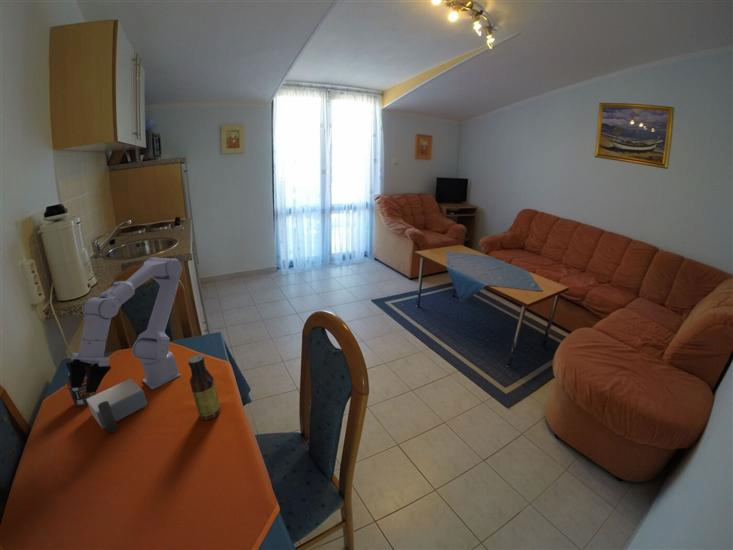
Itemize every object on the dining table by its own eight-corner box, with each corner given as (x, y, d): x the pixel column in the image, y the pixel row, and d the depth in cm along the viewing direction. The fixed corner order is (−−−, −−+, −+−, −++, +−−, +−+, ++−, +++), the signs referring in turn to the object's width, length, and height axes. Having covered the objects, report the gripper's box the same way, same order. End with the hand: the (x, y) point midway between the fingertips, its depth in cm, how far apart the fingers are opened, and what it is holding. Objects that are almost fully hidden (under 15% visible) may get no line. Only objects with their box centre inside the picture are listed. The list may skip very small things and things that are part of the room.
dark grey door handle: (147, 403, 107) (139, 379, 104) (153, 410, 104) (146, 385, 101) (102, 427, 98) (92, 401, 95) (108, 435, 95) (98, 409, 92)
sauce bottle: (225, 409, 105) (214, 355, 98) (209, 423, 100) (195, 367, 92) (210, 403, 107) (198, 350, 100) (193, 417, 102) (179, 362, 95)
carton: (135, 393, 113) (130, 378, 111) (146, 404, 108) (142, 389, 105) (92, 414, 104) (86, 399, 102) (102, 428, 99) (96, 412, 96)
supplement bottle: (85, 408, 106) (73, 379, 102) (70, 406, 108) (57, 376, 103) (102, 395, 112) (92, 367, 108) (88, 393, 113) (77, 365, 109)
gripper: (63, 337, 95) (51, 387, 93) (92, 342, 89) (81, 396, 86) (91, 337, 101) (81, 384, 99) (121, 342, 95) (110, 392, 93)
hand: (83, 389), depth 93 cm, fingers open, 7 cm apart
